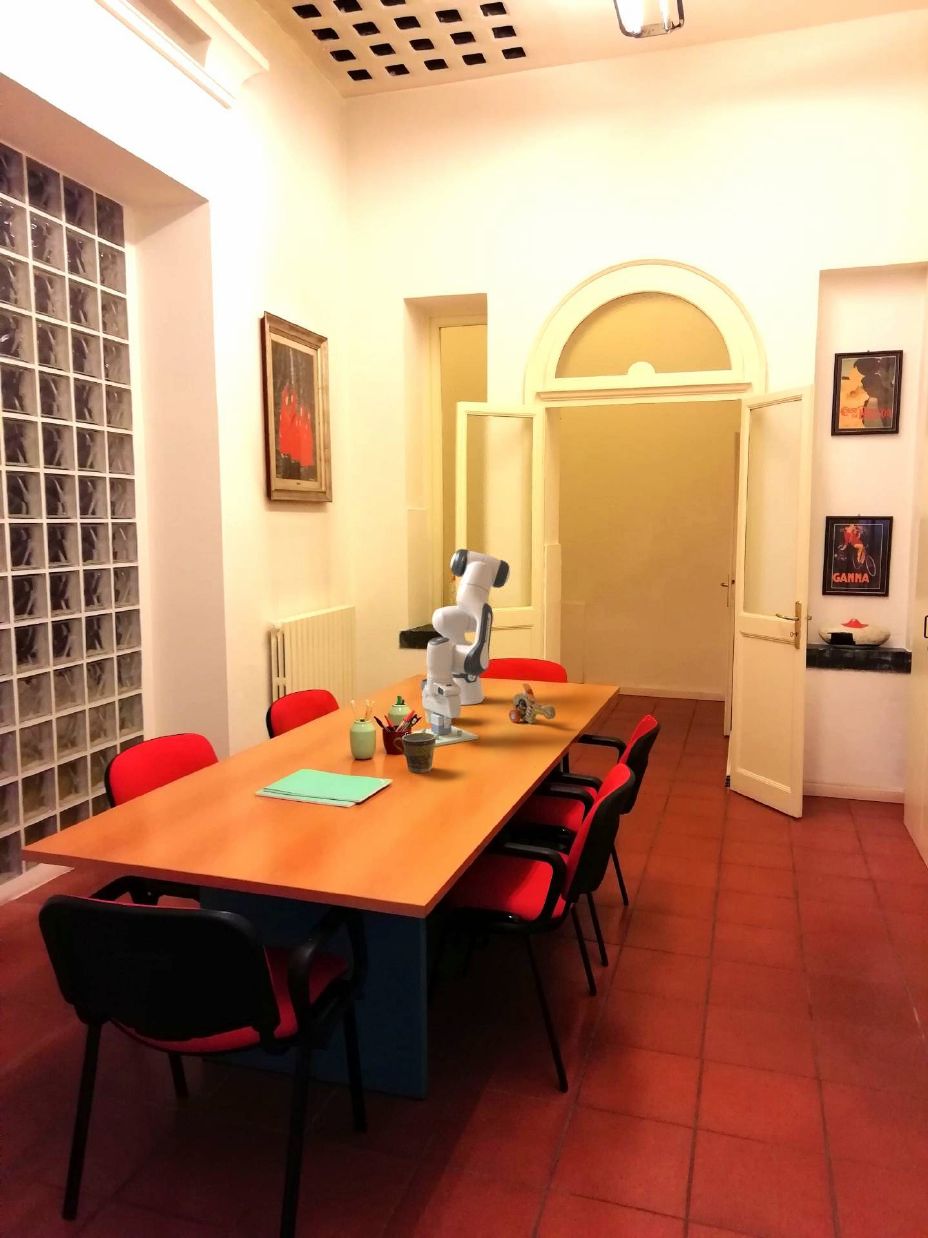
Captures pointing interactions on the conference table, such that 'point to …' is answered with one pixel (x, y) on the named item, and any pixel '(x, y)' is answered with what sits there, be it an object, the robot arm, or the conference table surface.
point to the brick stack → (439, 724)
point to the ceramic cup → (418, 751)
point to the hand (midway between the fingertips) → (441, 726)
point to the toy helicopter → (529, 707)
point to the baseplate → (450, 736)
